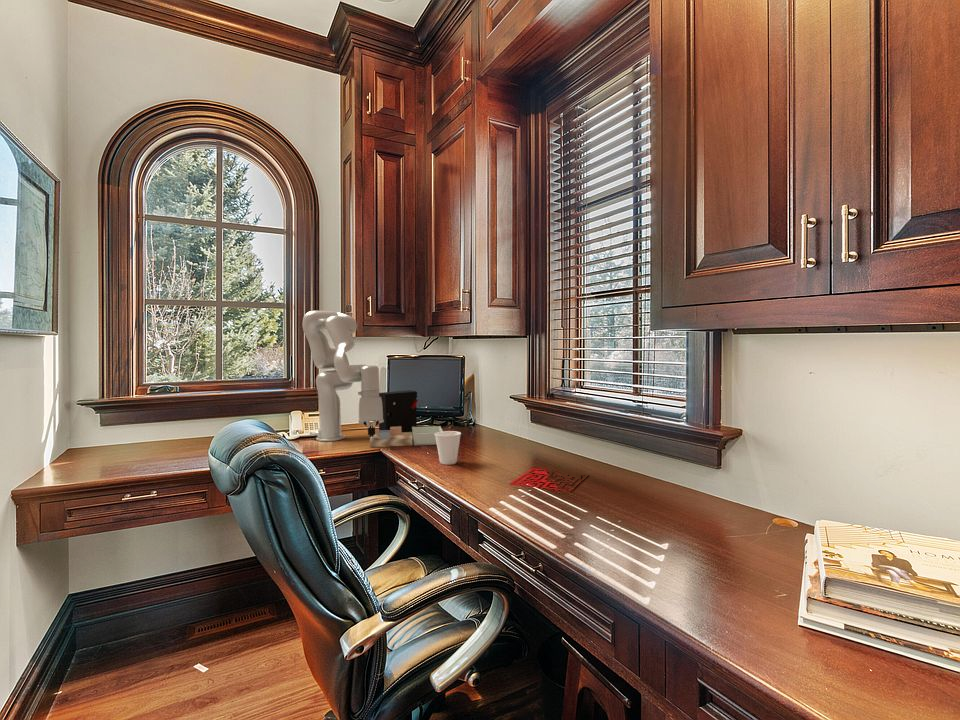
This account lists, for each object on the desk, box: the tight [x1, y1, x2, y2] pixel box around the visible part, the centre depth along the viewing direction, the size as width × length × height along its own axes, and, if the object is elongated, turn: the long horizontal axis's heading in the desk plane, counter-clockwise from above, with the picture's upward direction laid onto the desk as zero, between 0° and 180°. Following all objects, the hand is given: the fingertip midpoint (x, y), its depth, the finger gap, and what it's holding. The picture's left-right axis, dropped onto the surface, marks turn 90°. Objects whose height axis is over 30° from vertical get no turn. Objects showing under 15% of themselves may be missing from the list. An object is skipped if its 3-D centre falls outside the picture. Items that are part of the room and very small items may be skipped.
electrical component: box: [378, 389, 419, 433], centre depth 248 cm, size 18×10×20 cm, turn 128°
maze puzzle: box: [509, 468, 570, 492], centre depth 163 cm, size 20×20×1 cm
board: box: [369, 432, 414, 448], centre depth 224 cm, size 18×15×3 cm
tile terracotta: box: [390, 426, 402, 435], centre depth 228 cm, size 5×5×3 cm
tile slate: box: [377, 429, 390, 440], centre depth 220 cm, size 5×5×3 cm
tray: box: [411, 425, 444, 447], centre depth 227 cm, size 13×17×5 cm
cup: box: [434, 430, 462, 466], centre depth 186 cm, size 10×10×11 cm
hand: (371, 436), depth 219 cm, fingers closed
